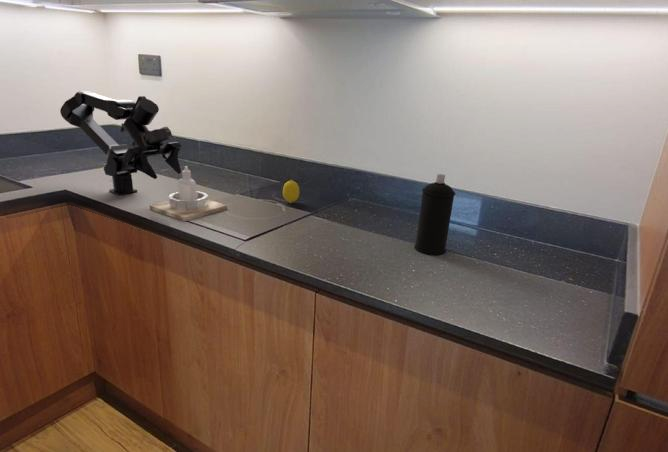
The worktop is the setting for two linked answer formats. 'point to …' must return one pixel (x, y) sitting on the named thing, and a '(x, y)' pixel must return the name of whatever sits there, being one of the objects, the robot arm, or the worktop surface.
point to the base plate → (188, 215)
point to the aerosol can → (434, 217)
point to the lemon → (291, 191)
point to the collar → (188, 202)
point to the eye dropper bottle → (187, 186)
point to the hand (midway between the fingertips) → (168, 175)
